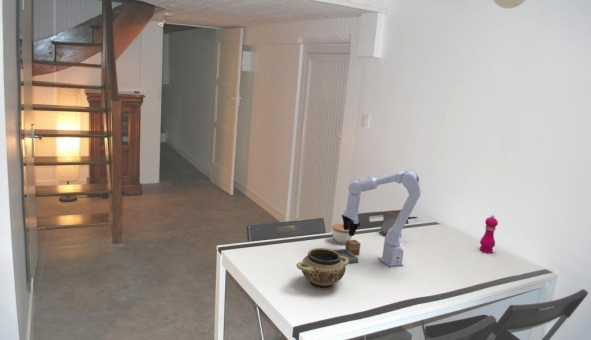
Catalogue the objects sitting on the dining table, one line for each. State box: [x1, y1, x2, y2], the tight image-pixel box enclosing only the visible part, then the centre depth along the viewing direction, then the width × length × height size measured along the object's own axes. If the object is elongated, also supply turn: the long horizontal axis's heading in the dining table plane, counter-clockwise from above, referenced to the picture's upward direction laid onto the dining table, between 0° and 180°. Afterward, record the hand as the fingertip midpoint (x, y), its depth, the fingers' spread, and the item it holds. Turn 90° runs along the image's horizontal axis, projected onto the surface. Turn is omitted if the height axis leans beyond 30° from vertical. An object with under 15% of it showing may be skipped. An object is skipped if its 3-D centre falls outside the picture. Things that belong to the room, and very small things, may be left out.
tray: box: [332, 248, 359, 265], centre depth 212 cm, size 11×11×2 cm
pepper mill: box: [479, 214, 498, 254], centre depth 238 cm, size 7×7×20 cm
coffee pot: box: [380, 210, 419, 236], centre depth 247 cm, size 21×12×15 cm, turn 39°
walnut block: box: [344, 239, 361, 256], centre depth 219 cm, size 5×5×6 cm
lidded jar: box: [331, 223, 353, 245], centre depth 233 cm, size 11×11×9 cm
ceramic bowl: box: [296, 247, 349, 290], centre depth 183 cm, size 24×18×15 cm
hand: (348, 232), depth 219 cm, fingers open, 7 cm apart
